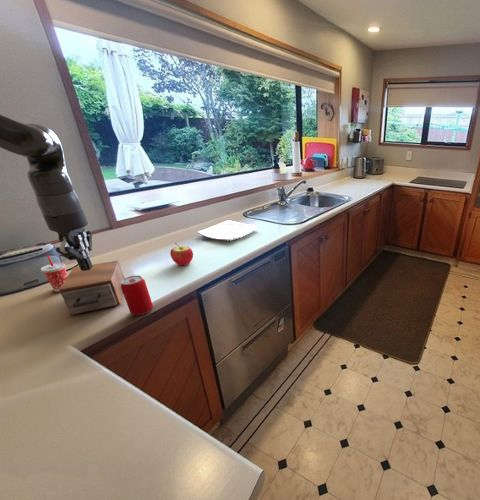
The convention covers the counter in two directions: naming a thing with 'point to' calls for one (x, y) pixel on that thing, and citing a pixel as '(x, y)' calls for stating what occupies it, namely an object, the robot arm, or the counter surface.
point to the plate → (228, 230)
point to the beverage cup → (55, 274)
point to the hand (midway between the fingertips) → (87, 269)
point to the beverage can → (136, 295)
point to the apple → (181, 255)
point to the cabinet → (96, 279)
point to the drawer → (89, 298)
